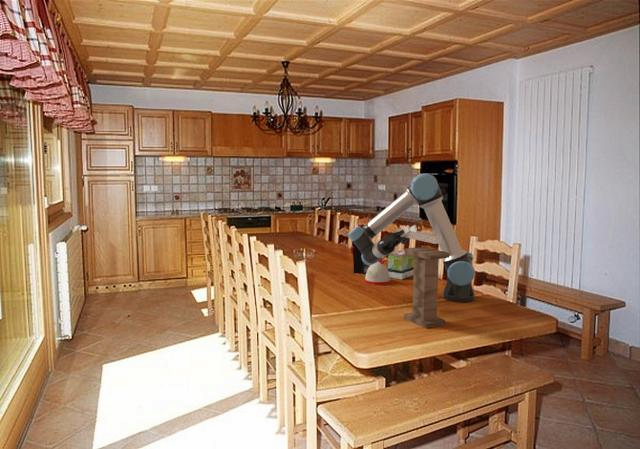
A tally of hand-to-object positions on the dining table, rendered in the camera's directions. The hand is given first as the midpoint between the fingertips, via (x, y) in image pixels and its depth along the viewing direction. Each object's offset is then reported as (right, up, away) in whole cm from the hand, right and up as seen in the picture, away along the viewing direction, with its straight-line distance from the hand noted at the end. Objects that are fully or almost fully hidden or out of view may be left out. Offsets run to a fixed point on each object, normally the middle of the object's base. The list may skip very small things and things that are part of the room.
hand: (412, 227), depth 206 cm
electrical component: (-14, -27, +93) cm, 98 cm away
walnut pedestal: (+4, -39, -3) cm, 39 cm away
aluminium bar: (+2, -5, -3) cm, 6 cm away
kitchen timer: (-7, -31, +64) cm, 72 cm away
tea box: (+8, -29, +79) cm, 84 cm away
